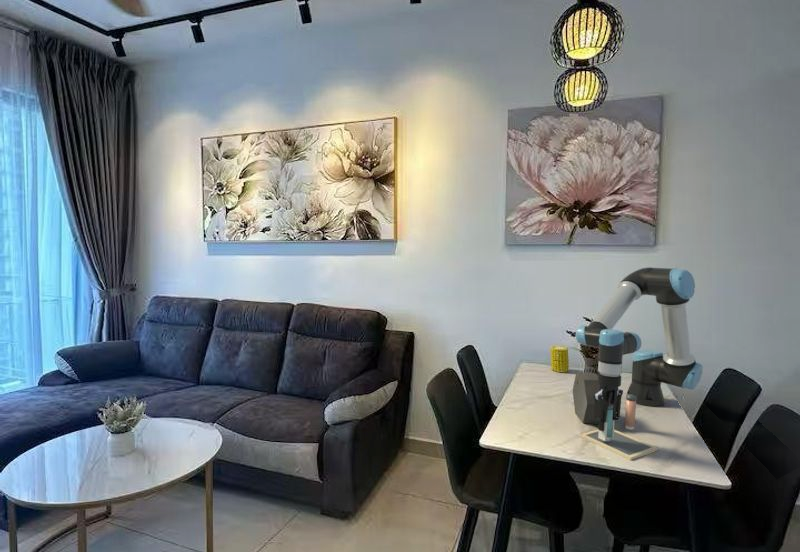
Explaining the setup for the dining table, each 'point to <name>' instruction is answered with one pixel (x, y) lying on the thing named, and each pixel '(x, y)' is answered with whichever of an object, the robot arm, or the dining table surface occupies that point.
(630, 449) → the slate board
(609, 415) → the teal marker
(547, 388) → the dining table surface
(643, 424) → the dining table surface
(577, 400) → the planter
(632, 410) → the coral marker
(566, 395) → the dining table surface
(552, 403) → the dining table surface
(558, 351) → the food
